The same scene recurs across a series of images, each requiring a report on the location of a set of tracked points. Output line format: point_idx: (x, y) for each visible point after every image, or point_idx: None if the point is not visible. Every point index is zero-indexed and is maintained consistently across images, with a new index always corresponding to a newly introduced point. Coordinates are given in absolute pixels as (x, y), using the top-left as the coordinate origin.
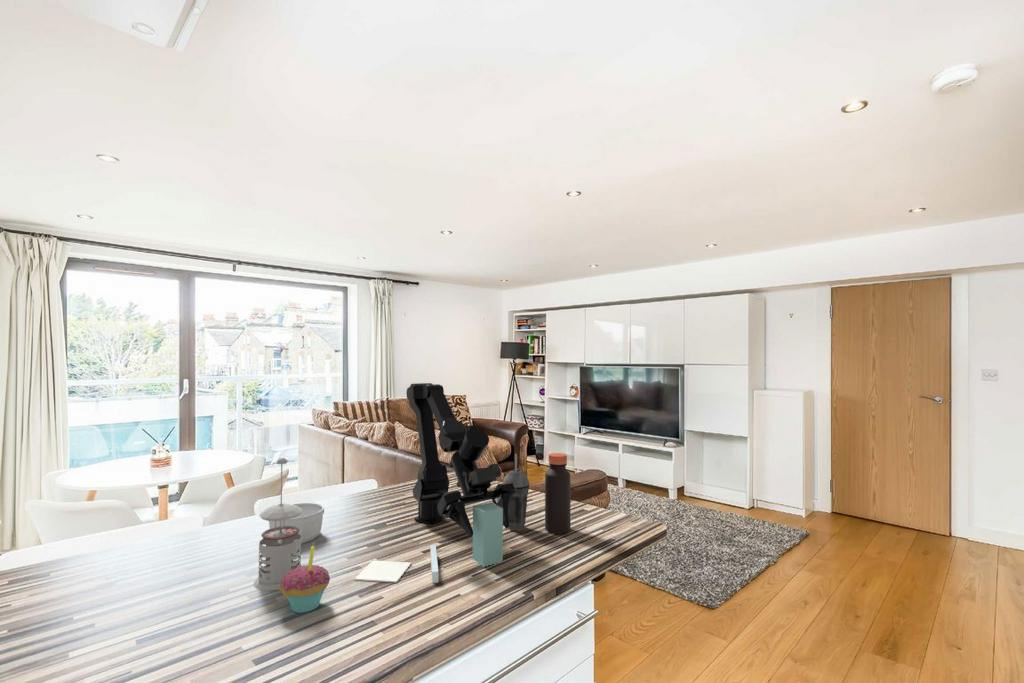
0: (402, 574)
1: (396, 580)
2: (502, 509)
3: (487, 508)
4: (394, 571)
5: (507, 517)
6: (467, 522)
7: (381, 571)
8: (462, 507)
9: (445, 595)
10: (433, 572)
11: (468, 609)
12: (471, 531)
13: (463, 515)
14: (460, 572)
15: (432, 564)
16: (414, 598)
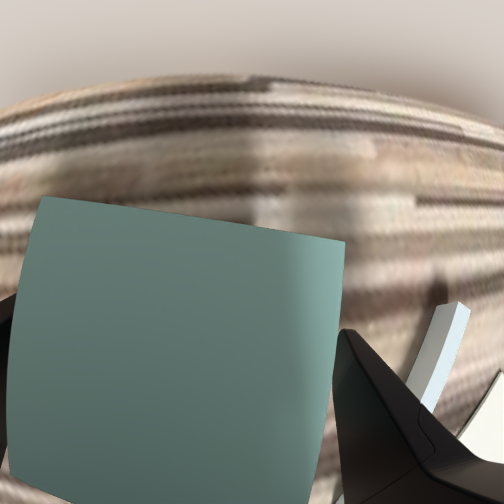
0: (477, 410)
1: (500, 377)
2: (52, 201)
3: (190, 345)
4: (482, 434)
5: (6, 303)
6: (395, 385)
7: (496, 447)
8: (477, 475)
9: (446, 224)
10: (467, 309)
11: (421, 135)
12: (358, 339)
13: (436, 434)
14: (350, 327)
15: (450, 367)
16: (497, 265)
